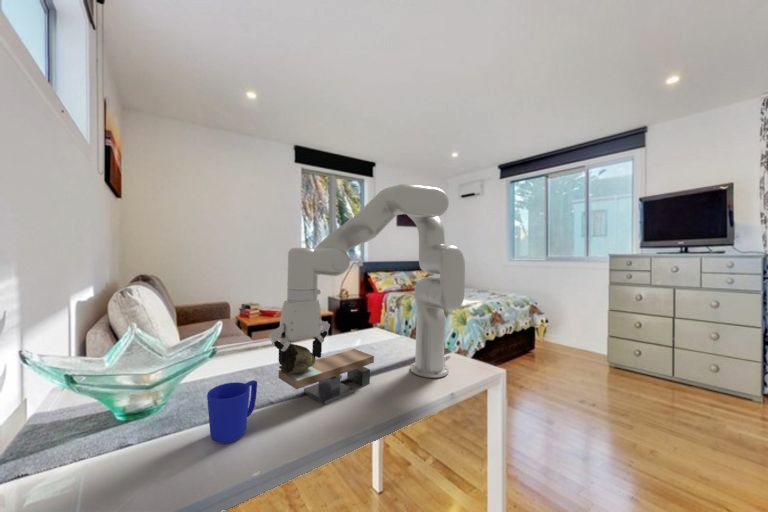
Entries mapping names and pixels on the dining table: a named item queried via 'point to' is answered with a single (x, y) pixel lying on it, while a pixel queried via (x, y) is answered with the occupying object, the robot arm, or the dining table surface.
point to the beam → (328, 368)
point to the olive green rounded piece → (298, 359)
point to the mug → (230, 410)
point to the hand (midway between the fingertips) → (300, 360)
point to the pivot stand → (338, 386)
